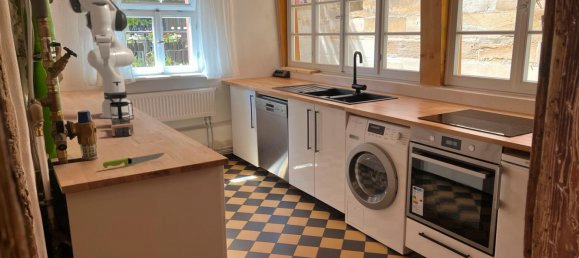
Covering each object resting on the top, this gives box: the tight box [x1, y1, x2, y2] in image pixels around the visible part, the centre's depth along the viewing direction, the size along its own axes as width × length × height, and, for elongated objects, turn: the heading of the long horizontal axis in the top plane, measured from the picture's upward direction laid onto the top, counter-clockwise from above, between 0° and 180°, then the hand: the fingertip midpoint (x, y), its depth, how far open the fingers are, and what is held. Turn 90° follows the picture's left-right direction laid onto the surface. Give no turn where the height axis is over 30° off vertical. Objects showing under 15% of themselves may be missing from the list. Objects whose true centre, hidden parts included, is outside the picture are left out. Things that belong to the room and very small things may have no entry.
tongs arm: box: [122, 122, 130, 137], centre depth 207 cm, size 14×2×4 cm, turn 24°
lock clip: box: [110, 122, 135, 136], centre depth 203 cm, size 9×3×4 cm, turn 114°
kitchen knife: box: [102, 152, 165, 169], centre depth 159 cm, size 22×1×3 cm, turn 125°
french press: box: [109, 81, 135, 123], centre depth 222 cm, size 12×9×23 cm
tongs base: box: [111, 117, 130, 138], centre depth 209 cm, size 19×8×6 cm, turn 24°
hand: (106, 67), depth 205 cm, fingers open, 8 cm apart
